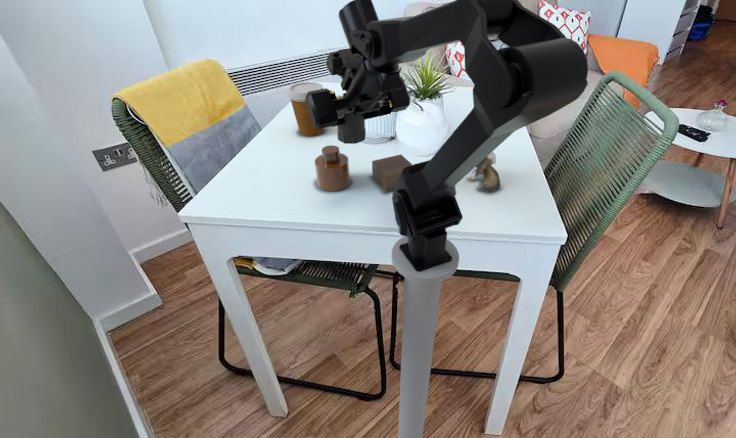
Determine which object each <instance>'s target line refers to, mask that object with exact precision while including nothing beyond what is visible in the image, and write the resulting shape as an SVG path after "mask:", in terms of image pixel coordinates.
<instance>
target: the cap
mask: <svg viewBox="0 0 736 438" xmlns="http://www.w3.org/2000/svg"><path fill="white" fill-rule="evenodd" d="M340 99H344V98H340ZM338 100H339V99H338ZM344 120H345V123H346V124H343V125H339V126H337V133H336V134H337V141H339V142H340V143H343V144H346V145H347V144H349V145H356V144H359V143H361V142H364V141H365V140H366V135H367V134H366V131H367V130H366V123H365V122H366V121H365V117H364V113H363V114H358V115H354V113H353V112H349V113H345V115H344Z"/></svg>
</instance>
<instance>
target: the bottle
mask: <svg viewBox="0 0 736 438" xmlns="http://www.w3.org/2000/svg"><path fill="white" fill-rule="evenodd" d="M314 167H315V168H314V169H315V176H316V182H317V187H318V188H319V189H320V190H323V191H325V192H338V191H342V190H344V189H346V188H347V187H349V185H350V184H351V183H350V182H351V177H350V165H349V157H348V156H347V155H346V154H344V153H341V152H340V147H339V146H337V145H334V144H333V145H325V146H324V147H321V154H320V155H317V157H316V158H315V159H314Z"/></svg>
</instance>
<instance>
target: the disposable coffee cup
mask: <svg viewBox="0 0 736 438" xmlns="http://www.w3.org/2000/svg"><path fill="white" fill-rule="evenodd" d="M320 89H324V87H323V85H322V84H321V83H319V82H315V81H313V82H312V81H305V82H298V83H294V84H292V85H290V86H289V88H288V92H287V97H288V98H289V100H290V103H291V107H292V110H293V113H294V116H295V120H296V124H297V127H298V131H299V134H300V135H302V136H305V137H315V136H318V135H321V134H322V132H324V128H322V129H317V128H315V127H314V125H313V122H312V119H311V117H310V114H309V111H308V108H307V105H306V102H305V98H306V95H307V93H308V92H309V91H314V90H320Z"/></svg>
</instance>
